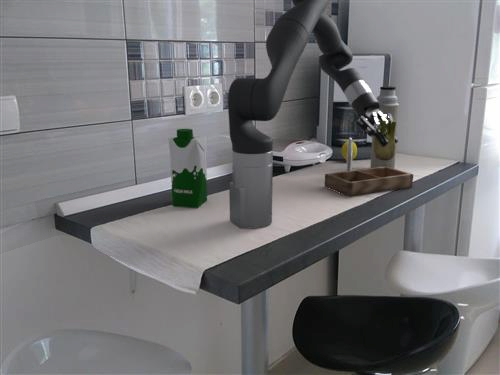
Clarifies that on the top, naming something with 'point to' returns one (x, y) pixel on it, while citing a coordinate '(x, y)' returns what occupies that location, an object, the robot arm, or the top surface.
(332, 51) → the robot arm
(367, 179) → the caddy
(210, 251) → the top surface
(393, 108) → the thermos bottle
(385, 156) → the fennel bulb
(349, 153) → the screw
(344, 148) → the lemon
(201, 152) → the milk carton
